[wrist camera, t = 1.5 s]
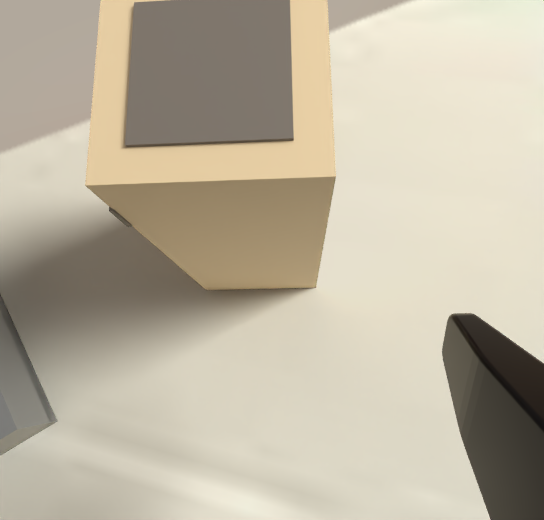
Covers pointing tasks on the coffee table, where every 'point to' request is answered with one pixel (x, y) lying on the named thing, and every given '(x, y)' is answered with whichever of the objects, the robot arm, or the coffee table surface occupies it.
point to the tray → (19, 390)
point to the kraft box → (217, 134)
